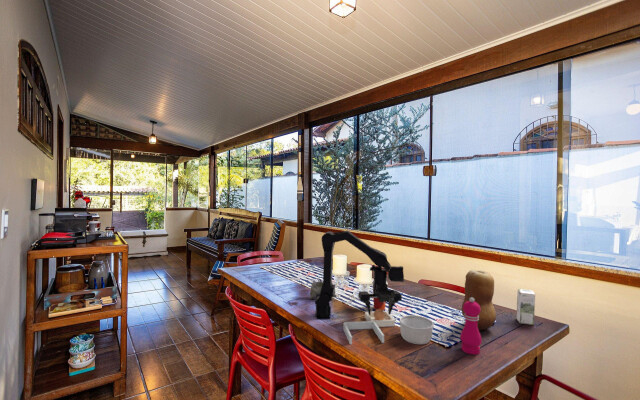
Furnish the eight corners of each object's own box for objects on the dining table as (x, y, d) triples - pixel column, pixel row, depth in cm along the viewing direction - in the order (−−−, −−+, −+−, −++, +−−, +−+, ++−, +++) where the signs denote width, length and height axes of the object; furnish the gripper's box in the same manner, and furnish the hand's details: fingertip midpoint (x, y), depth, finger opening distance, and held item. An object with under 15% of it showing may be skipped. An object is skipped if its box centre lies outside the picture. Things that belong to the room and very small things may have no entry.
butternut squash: (502, 334, 133) (504, 274, 132) (473, 336, 131) (475, 275, 130) (480, 320, 147) (482, 266, 146) (454, 322, 144) (455, 267, 144)
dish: (371, 327, 138) (371, 321, 138) (364, 317, 149) (365, 311, 149) (394, 326, 139) (394, 320, 139) (386, 316, 150) (386, 311, 150)
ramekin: (428, 349, 119) (429, 331, 119) (394, 340, 126) (394, 323, 126) (436, 336, 130) (436, 319, 130) (404, 328, 137) (405, 312, 137)
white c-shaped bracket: (349, 344, 122) (349, 336, 122) (343, 329, 136) (343, 322, 136) (384, 342, 124) (384, 335, 124) (374, 327, 137) (374, 321, 137)
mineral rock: (337, 300, 172) (337, 281, 172) (324, 305, 164) (324, 285, 164) (320, 294, 181) (320, 277, 181) (306, 299, 173) (306, 280, 173)
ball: (372, 318, 146) (372, 307, 146) (382, 317, 147) (383, 307, 146) (375, 322, 141) (375, 311, 141) (386, 322, 142) (386, 311, 142)
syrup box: (530, 320, 147) (531, 289, 147) (534, 325, 142) (535, 293, 141) (516, 318, 149) (517, 288, 149) (519, 323, 144) (520, 292, 143)
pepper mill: (456, 346, 122) (457, 294, 121) (474, 345, 123) (475, 294, 122) (466, 355, 115) (468, 301, 114) (485, 355, 115) (487, 300, 115)
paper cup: (387, 311, 156) (387, 283, 155) (371, 310, 157) (371, 282, 157) (387, 306, 163) (387, 279, 163) (372, 304, 165) (372, 278, 165)
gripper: (364, 286, 134) (363, 322, 135) (406, 285, 136) (406, 321, 137) (358, 278, 145) (357, 312, 146) (397, 278, 148) (396, 311, 148)
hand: (379, 314), depth 144 cm, fingers open, 9 cm apart
